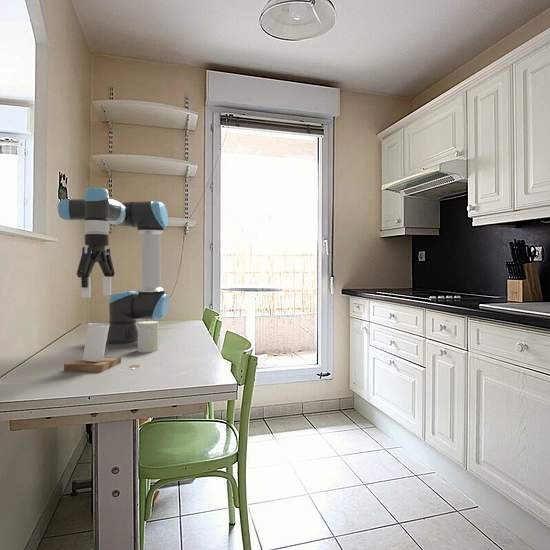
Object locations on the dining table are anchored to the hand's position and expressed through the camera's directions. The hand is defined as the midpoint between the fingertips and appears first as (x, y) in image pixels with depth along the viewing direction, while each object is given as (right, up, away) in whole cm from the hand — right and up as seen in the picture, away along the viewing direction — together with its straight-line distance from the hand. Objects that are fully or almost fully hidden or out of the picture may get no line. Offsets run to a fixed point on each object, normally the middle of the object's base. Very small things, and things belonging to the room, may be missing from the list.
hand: (97, 296), depth 141 cm
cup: (+9, -24, +29) cm, 39 cm away
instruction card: (+13, -24, -1) cm, 27 cm away
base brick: (-1, -25, 0) cm, 25 cm away
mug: (-2, -22, 0) cm, 22 cm away
